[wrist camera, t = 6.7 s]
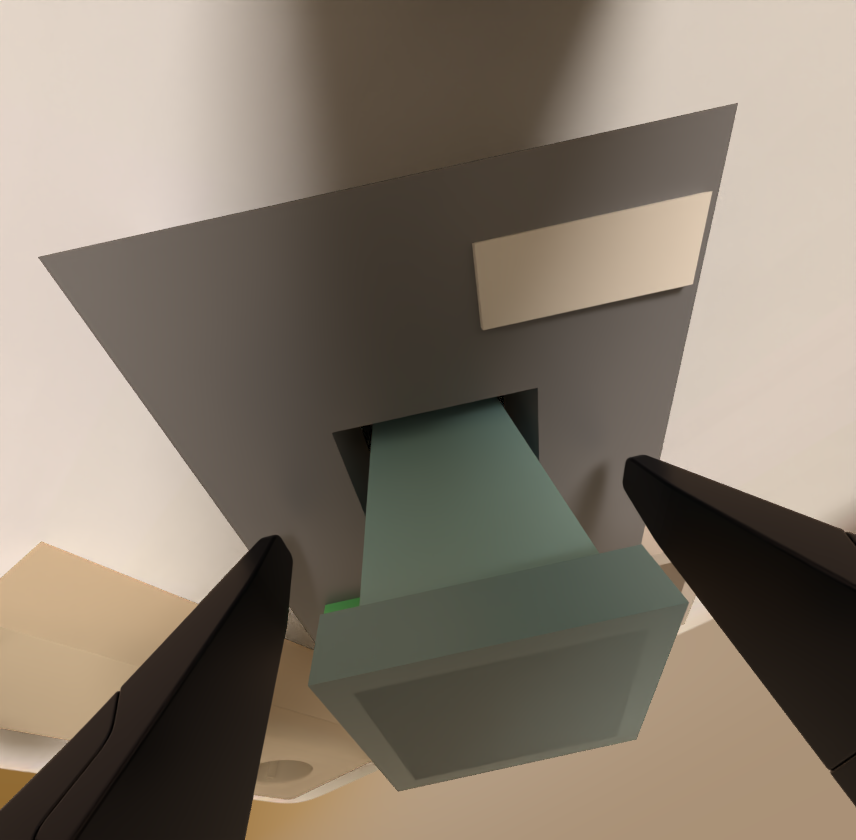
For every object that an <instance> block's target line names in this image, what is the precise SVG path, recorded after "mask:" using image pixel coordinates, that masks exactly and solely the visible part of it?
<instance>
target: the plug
mask: <svg viewBox="0 0 856 840" xmlns="http://www.w3.org/2000/svg"><path fill="white" fill-rule="evenodd" d="M688 604H689V602H688V600H687V599H686V598H685V597H684V596H683V594H682V593H681V592H680V591H679V589H678V588H677V587H676V586H675V584H674V583H673V582H672V581H671V580H670V578H669V577H668V576H667V575H666V573H665V572H664V571H663V570H662V568H661V567H660V566H659V565H658V563H657V562H656V561H655V560H654V559H653V557H652V556H651V555H650V554H649V552H648V551H647V550H646V549H645V547H644V546H643V545H642V544H641V545H636V546H631V547H627V548H622V549H618V550H613V551H609V552H604V553H599V552H598V550H597V549H596V547H595V546H594V544H593V543H592V541H591V540H590V538H589V537H588V535H587V534H586V532H585V531H584V529H583V528H582V526H581V525H580V523H579V521H578V520H577V518H576V517H575V515H574V514H573V512H572V511H571V509H570V508H569V506H568V505H567V503H566V502H565V500H564V499H563V497H562V496H561V494H560V493H559V491H558V490H557V488H556V487H555V485H554V483H553V482H552V480H551V479H550V477H549V476H548V474H547V473H546V471H545V470H544V468H543V467H542V465H541V464H540V462H539V461H538V459H537V458H536V456H535V455H534V453H533V452H532V450H531V448H530V447H529V445H528V444H527V442H526V441H525V439H524V438H523V436H522V435H521V433H520V432H519V430H518V429H517V427H516V426H515V424H514V423H513V421H512V420H511V418H510V417H509V415H508V414H507V412H506V410H505V409H504V407H503V406H502V404H501V403H500V401H499V400H498V398H497V397H493V398H488V399H483V400H479V401H474V402H470V403H465V404H461V405H456V406H451V407H447V408H442V409H438V410H433V411H429V412H424V413H420V414H415V415H410V416H406V417H401V418H397V419H392V420H388V421H383V422H379V423H374V424H373V425H372V439H371V452H370V466H369V480H368V494H367V507H366V521H365V535H364V549H363V563H362V576H361V590H360V604H359V606H357V607H353V608H348V609H343V610H339V611H334V612H330V613H325V614H321V615H320V618H319V624H318V629H317V635H316V641H315V647H314V652H313V658H312V664H311V670H310V676H309V681H308V687H309V688H310V689H311V690H312V691H313V693H314V694H315V695H316V696H317V697H318V698H319V700H320V701H321V702H322V703H323V704H324V705H325V707H326V708H327V709H328V710H329V711H330V712H331V714H332V715H333V716H334V717H335V718H336V719H337V721H338V722H339V723H340V724H341V725H342V727H343V728H344V729H345V730H346V731H347V732H348V734H349V735H350V736H351V737H352V738H353V739H354V741H355V742H356V743H357V744H358V745H359V746H360V748H361V749H362V750H363V751H364V752H365V753H366V755H367V756H368V757H369V758H370V759H371V760H372V762H373V763H374V764H375V765H376V766H377V767H378V769H379V770H380V771H381V772H382V773H383V775H384V776H385V777H386V778H387V779H388V780H389V782H390V783H391V784H392V785H393V786H394V787H395V789H396V790H397V791H402V790H407V789H411V788H416V787H420V786H425V785H430V784H434V783H439V782H444V781H448V780H453V779H457V778H462V777H466V776H471V775H476V774H480V773H485V772H489V771H494V770H499V769H503V768H508V767H512V766H517V765H522V764H526V763H531V762H535V761H540V760H544V759H549V758H553V757H558V756H563V755H567V754H572V753H576V752H581V751H586V750H590V749H595V748H599V747H604V746H609V745H613V744H618V743H622V742H627V741H631V740H636V739H637V737H638V734H639V731H640V729H641V726H642V724H643V721H644V718H645V716H646V713H647V710H648V708H649V705H650V703H651V700H652V698H653V695H654V692H655V690H656V687H657V685H658V682H659V679H660V676H661V674H662V672H663V669H664V666H665V664H666V661H667V659H668V656H669V653H670V651H671V648H672V646H673V643H674V640H675V638H676V635H677V633H678V630H679V627H680V625H681V622H682V620H683V617H684V614H685V612H686V609H687V607H688Z"/></svg>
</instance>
